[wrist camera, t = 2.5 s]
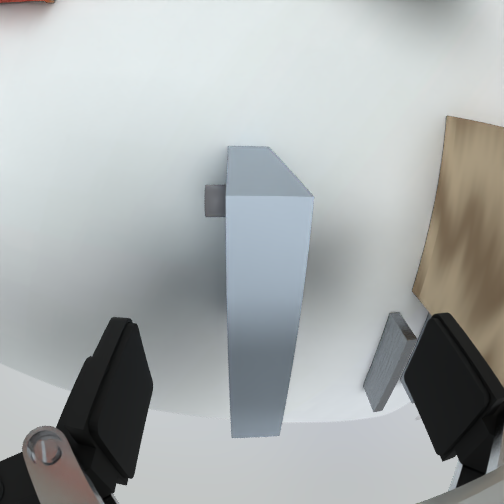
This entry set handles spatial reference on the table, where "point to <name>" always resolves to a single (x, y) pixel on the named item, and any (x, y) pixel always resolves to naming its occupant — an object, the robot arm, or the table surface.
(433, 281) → the cabinet
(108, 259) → the table surface
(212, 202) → the door panel
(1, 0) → the medicine box
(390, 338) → the hinge clips
